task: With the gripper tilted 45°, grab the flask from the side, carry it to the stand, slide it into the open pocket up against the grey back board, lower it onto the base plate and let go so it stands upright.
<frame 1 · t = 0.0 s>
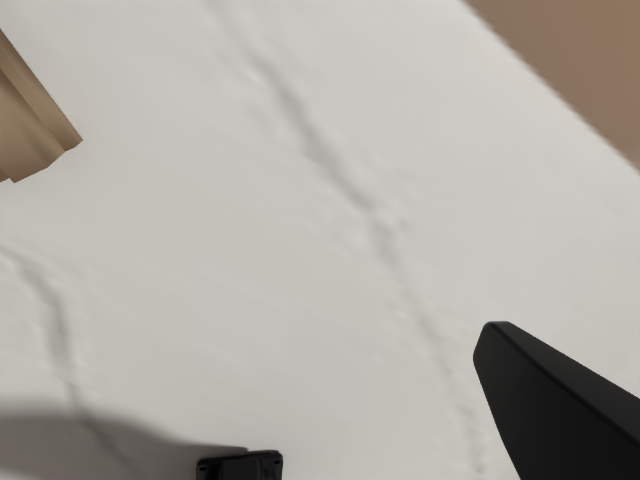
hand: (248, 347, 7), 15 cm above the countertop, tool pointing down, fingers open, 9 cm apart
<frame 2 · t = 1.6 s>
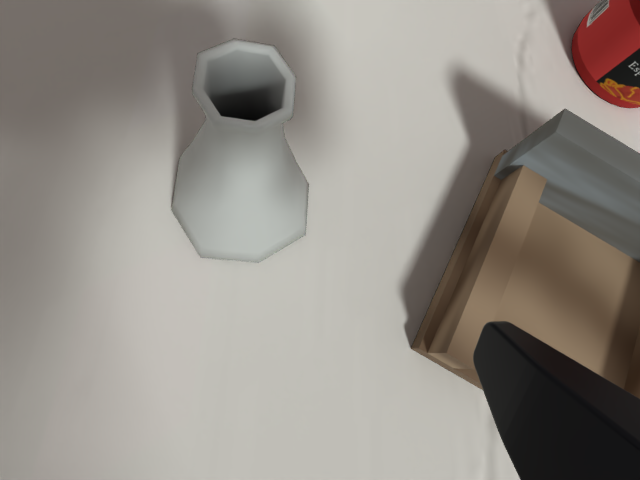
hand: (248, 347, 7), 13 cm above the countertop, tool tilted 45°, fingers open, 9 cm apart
canned food: (612, 64, 30), on the countertop
flask: (242, 200, 22), on the countertop
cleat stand: (554, 301, 24), on the countertop
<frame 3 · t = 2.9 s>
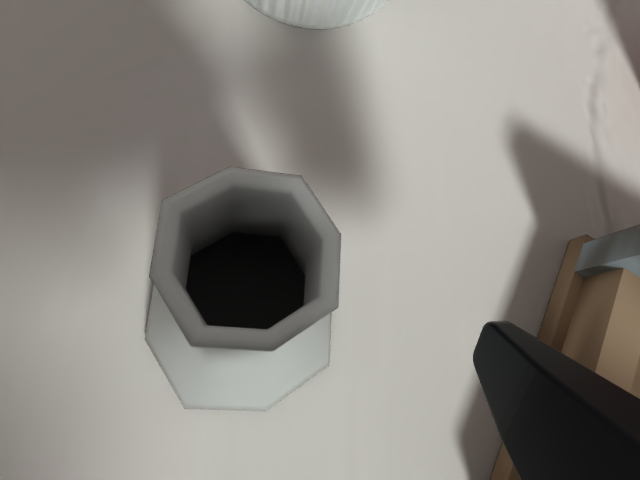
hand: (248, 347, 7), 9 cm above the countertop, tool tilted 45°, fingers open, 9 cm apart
flask: (243, 315, 17), on the countertop
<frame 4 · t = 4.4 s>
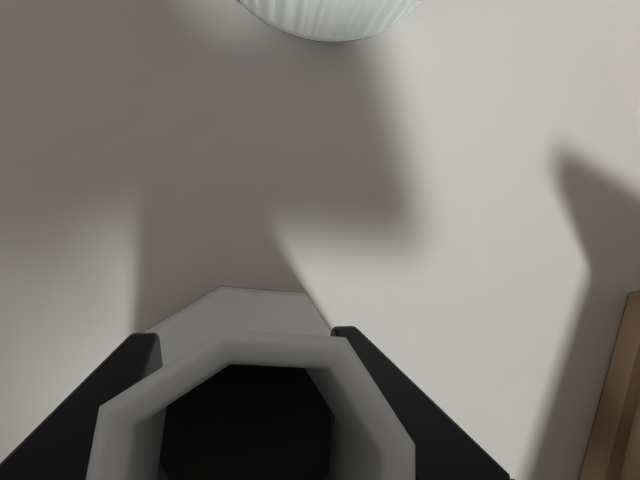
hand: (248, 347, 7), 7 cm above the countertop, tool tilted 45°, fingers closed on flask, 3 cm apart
flask: (245, 397, 13), on the countertop, touching gripper
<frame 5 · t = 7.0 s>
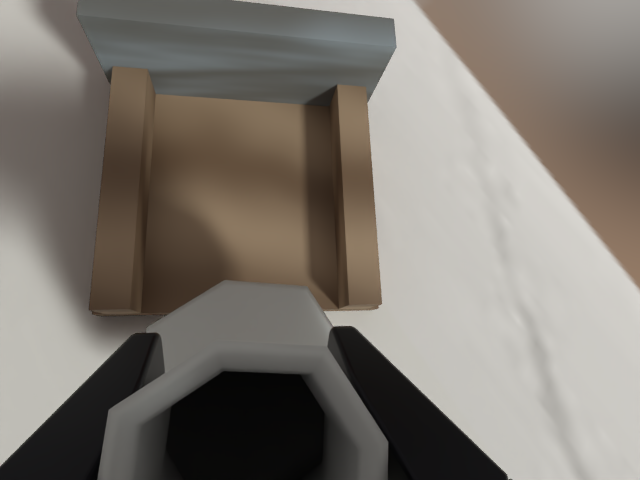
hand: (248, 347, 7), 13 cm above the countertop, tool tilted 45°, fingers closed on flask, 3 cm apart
flask: (248, 385, 14), point 6 cm above the countertop, touching gripper
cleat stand: (244, 187, 22), on the countertop
when the fingers open (9 cm above the countertop, at t = 9.5 s): flask stays where it is, resting on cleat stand.
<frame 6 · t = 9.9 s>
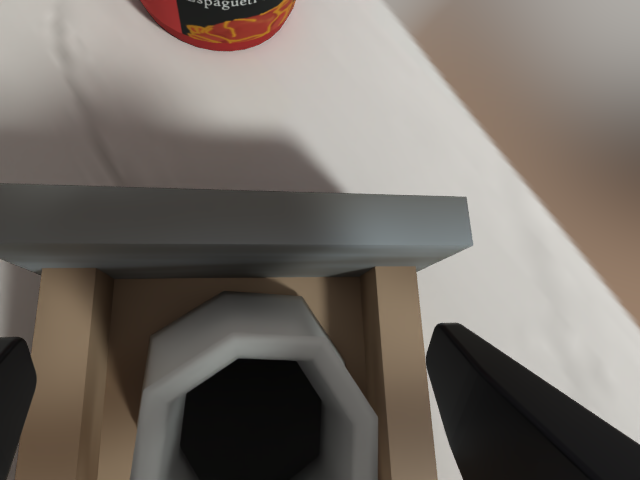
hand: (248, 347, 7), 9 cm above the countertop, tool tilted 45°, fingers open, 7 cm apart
flask: (246, 391, 15), point 1 cm above the countertop, touching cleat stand
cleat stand: (242, 402, 15), on the countertop
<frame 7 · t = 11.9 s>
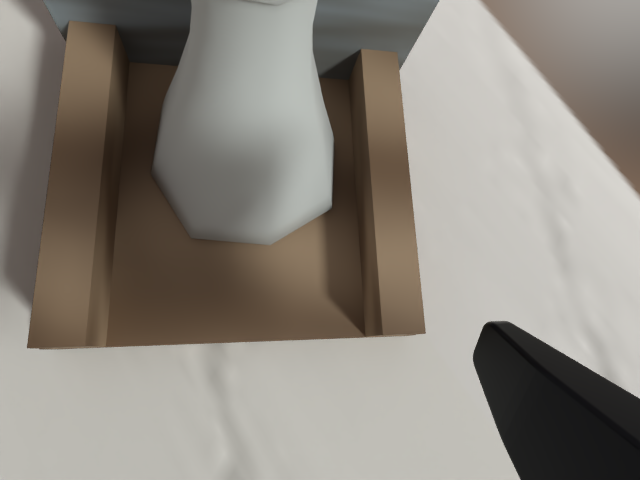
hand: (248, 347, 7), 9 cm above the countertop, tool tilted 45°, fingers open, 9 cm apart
flask: (247, 162, 17), point 1 cm above the countertop, touching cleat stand
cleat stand: (243, 180, 17), on the countertop
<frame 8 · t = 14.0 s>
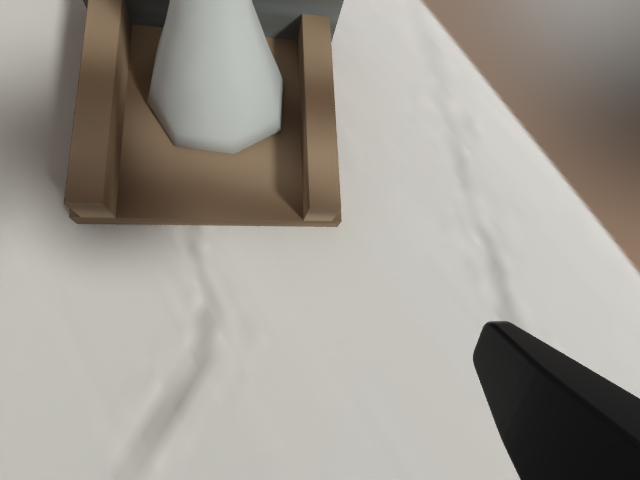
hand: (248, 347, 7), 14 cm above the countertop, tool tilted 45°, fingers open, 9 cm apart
flask: (219, 98, 23), point 1 cm above the countertop, touching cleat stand
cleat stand: (216, 113, 23), on the countertop
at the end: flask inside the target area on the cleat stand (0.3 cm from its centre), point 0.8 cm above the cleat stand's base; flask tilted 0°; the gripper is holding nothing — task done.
